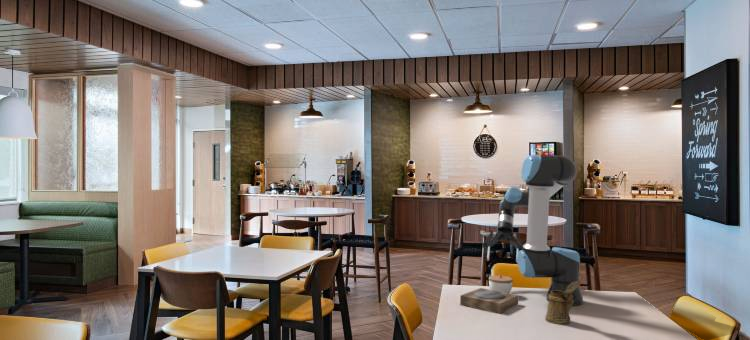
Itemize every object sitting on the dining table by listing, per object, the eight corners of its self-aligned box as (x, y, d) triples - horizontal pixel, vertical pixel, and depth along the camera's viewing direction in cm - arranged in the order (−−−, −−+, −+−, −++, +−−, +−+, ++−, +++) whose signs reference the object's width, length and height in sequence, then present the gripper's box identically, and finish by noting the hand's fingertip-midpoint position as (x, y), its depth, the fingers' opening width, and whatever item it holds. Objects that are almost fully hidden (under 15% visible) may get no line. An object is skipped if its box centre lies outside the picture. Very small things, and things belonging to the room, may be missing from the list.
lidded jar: (488, 296, 231) (488, 276, 230) (488, 291, 241) (488, 271, 241) (512, 298, 228) (513, 277, 228) (511, 292, 239) (512, 272, 239)
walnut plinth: (518, 304, 219) (518, 294, 219) (499, 313, 205) (499, 302, 205) (480, 296, 230) (480, 287, 230) (460, 304, 216) (460, 294, 216)
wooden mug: (568, 329, 187) (569, 280, 187) (540, 318, 199) (541, 273, 198) (584, 326, 191) (586, 278, 191) (556, 316, 203) (557, 271, 203)
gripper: (530, 231, 257) (529, 266, 243) (480, 228, 265) (476, 262, 251) (531, 222, 252) (529, 257, 238) (479, 219, 260) (475, 253, 246)
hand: (502, 260), depth 244 cm, fingers open, 13 cm apart
